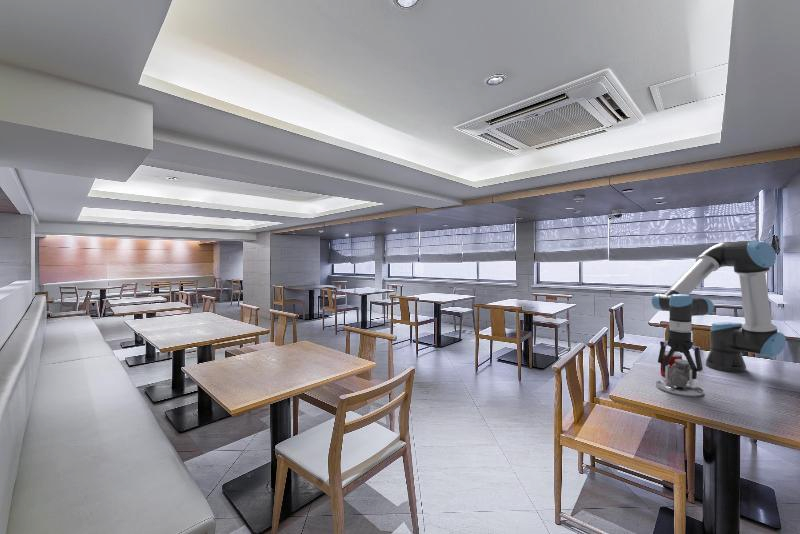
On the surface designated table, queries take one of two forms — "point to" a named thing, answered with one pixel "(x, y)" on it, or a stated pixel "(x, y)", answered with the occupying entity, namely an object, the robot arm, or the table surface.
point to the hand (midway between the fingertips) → (679, 383)
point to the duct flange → (679, 389)
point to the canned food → (672, 360)
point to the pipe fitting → (680, 373)
